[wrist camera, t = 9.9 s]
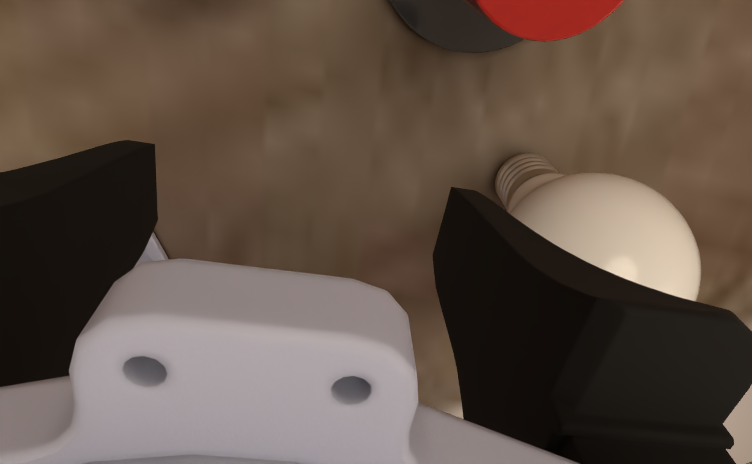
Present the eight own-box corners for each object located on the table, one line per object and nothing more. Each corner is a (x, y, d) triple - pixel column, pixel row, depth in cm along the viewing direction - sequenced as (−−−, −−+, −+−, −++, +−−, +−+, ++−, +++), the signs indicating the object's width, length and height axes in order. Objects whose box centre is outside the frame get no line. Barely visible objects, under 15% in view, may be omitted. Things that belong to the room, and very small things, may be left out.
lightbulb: (614, 169, 24) (790, 318, 15) (510, 255, 26) (607, 436, 17) (530, 77, 22) (676, 184, 12) (424, 180, 24) (478, 340, 15)
